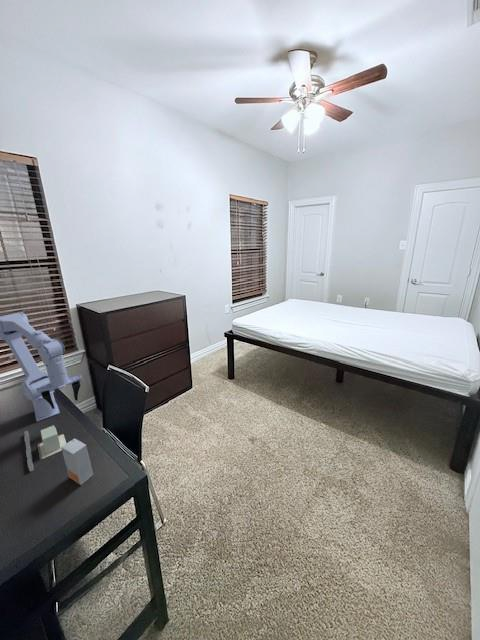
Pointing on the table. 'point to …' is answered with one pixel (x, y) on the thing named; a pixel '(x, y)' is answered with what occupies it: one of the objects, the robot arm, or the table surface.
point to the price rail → (28, 451)
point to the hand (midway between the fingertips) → (64, 403)
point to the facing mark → (43, 453)
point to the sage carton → (50, 439)
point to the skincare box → (77, 461)
